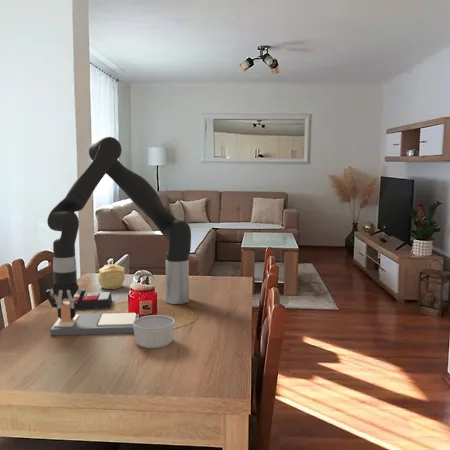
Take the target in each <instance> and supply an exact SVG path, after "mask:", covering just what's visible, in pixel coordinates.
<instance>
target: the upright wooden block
mask: <svg viewBox="0 0 450 450" xmlns="http://www.w3.org/2000/svg"><path fill="white" fill-rule="evenodd" d="M79 314H80V313H76V315H75V317H74V318H73V319H71V306H70V302H69V300H65V301H64V300H63V302H62V304H61V319H60V318H59V317H58V318H59V320H58V321H57V323H56V324H55V325H54V324H53V325H54V327H73V325H74V324H75V322H76V320H77V318H78V316H79Z"/></svg>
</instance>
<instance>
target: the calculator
mask: <svg viewBox="0 0 450 450" xmlns="http://www.w3.org/2000/svg"><path fill="white" fill-rule="evenodd" d="M79 296H80V295H79V294H78V293H75V295H74V298H75V303H76V302H77V301H78V299H79ZM112 301H113V300H112V292H110V291H103V292H99V291H98V292H87V293H86V292H85V295H84V297H83V299H82V302H81V304H80V306H78V307H75V309H76V310H88V309H111V306H112V305H111V304H112Z"/></svg>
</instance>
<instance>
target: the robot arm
mask: <svg viewBox="0 0 450 450" xmlns="http://www.w3.org/2000/svg"><path fill="white" fill-rule="evenodd" d="M88 154H89V158H90V159H91V163H89V165H88V167H87V168H86V169H85V170H84V171H83V173H82V174H81V175H80V176H79V177H78V178H77V179H76V180H75V181H74V182H73V184H72V186H71V187H70V189H69V190H68V192H67V194H66V196H65V197H64V198H63V199H61V200H60V201H59V202H58V203H57V204H56V205H55V206H54V207H53V208H52V209H51V211H50V212H49V214H48V217H47V226H48V228H49V229H50V230H52V231H55V232H61V234H60V237H59V238H57V239H55V240H54V241H53V244H52V250H53V252H52V253H53V260H52V270H53V271H52V272H53V286H52V288H51V289H47V290H46V291H45V293H44V294H45V296H46V298H47V299H48V302H49V304H50V306H51V308H56V309H57V318H60V319H61V304H62V302H63V301H64V300H65V299H66V300H68V301H69V302H70V306H71V319H73V318H74V317H75V315H76V314H77V313H76V310H77V309H75V307H78V306H80V304H81V302H82V299H83V297H84V295H85V293H86V292H87V289H86V288H82V287H79V284H78V272H77V271H78V270H77V258H76V240H77V236H78V231H79V228H80V221H79V220H80V219H79V217H78V215H77V213H76V212H80V211H82V210H83V209H84V208H85V206H86V205H87V203H88V201H89V200H90V198H91V196H92V195H93V193H94V191H95V190H96V188H97V187H98V185H99V183H100V182H101V181H102V179H103V177H104V176H105V175H107V176H108V177H109V178H110V179H111V180H112V181H114V183H115V184H116V185H117V186H118V187H119V188H120V189H121V190H122V191H123V192H124V193H125V195H126V196H127V197H128V198H129V199H130V200H131V201H132V202H133V204H134V205H135V206H136V207H137V208H138V209H139V210H141V211H142V212H143V213H144V214H145V216H147V217H148V218H149V219H150V220H151V221H152V223H154V225H155V226H156V227H157V228H158V230H159V232H160V233H161V235H162V236H163V237H164V239H166V240H167V241H169V244H168V247H169V248H168V251H166V253H165V302H166V303H167V304H171V305H181V304H188V303H189V304H190V279H189V277H190V274H189V273H190V270H189V266H190V264H189V263H190V262H189V260H190V259H189V258H190V254H191V250H192V245H191V244H192V241H191V240H192V234H191V233H192V232H191V231H192V230H191V227H190V225H189V224H188V223H187V222H186V221H184V220H182V219H181V220H180V219H177V218H176V217H175V216H174V215H173V214H172V213H171V212H170V211H168V210H167V208H166V206H164V204H163V202H162V200H161V197H160V195H159V194H158V192H157V191H156V190H155V188H154V187H153V186H152V185H151V184H150V183H149V182H148V181H147V180H146V179H145V178H144V177H142V176H141V175H139V174H138V173H136V172H134V171H132V170H131V169H128V168H127V167H125V166H124V164H122V163H121V162H120V160H119V158H120V157H121V155H122V145H121V143H120V141H119V140H118V139H117V138H115V137H113V136H106V137H103V138H100V139H98V140H97V141H94V142H92V144H90V146H89V147H88ZM77 292H78V293H77ZM54 294H55V295H56V296H57V301H56V299H55V297H54ZM75 294H79V295H80V296H79V299H78V301H77V302H76V303H75V298H74V295H75Z"/></svg>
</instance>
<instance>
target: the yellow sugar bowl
mask: <svg viewBox="0 0 450 450" xmlns="http://www.w3.org/2000/svg"><path fill="white" fill-rule="evenodd" d="M125 278H126V274H125V267H123V266H121V265H118V263H115V264H112V263H110V264H104V266H103V267H101V268H99V269H98V275H97V279H98V280H97V281H98V283H99V285H100V287H101V288H103V289H104V290H117V289H120V288H121V287H122V286H123V284H124V282H125V280H126V279H125Z"/></svg>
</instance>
